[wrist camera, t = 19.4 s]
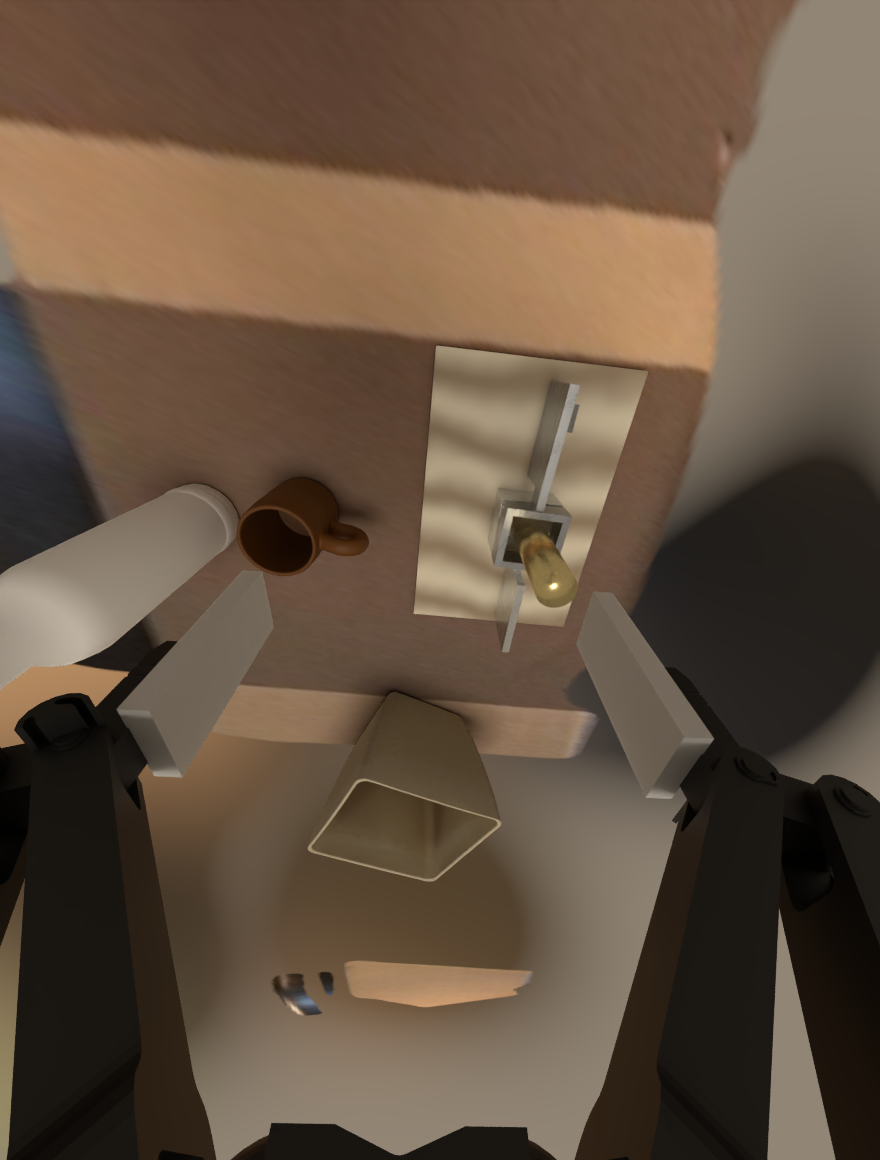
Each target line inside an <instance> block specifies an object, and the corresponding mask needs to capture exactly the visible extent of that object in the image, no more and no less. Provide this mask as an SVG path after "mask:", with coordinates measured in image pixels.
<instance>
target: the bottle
mask: <svg viewBox="0 0 880 1160" xmlns="http://www.w3.org/2000/svg"><path fill="white" fill-rule="evenodd" d="M238 523H239V517H238V514H237V511H236V509H235V508H234V506H233V505H232V503H231V502H230V500H229V499H227V498H226V497H225V496H224V495H223V494H222V493H221V492H219V491H217V490H215V489H213V488H211V487H209V486H207V485H201V484H196V483H194V484H188V485H183V486H181V487H179V488H174V489H172V490H170V491H168V492H166V493H165V494H163V495H162V496H160V497H158V498H156V499H154V500H151V501H149V502H147V503H145V504H143V505H141V506H139V507H137V508H135V509H133V510H130V511H128V512H126V513H124V514H122V515H120V516H118V517H116V518H114V519H112V520H109V521H107V522H105V523H103V524H101V525H99V526H97V527H95V528H93V529H90V530H88V531H86V532H84V533H82V534H80V535H78V536H76V537H74V538H72V539H69V540H67V541H65V542H63V543H61V544H59V545H57V546H55V547H53V548H51V549H48V550H46V551H44V552H42V553H40V554H38V555H36V556H34V557H32V558H30V559H27V560H25V561H23V562H21V563H19V564H17V565H15V566H13V567H11V568H9V569H8V570H7V571H5V572H4V573H2V574H1V575H0V690H1V689H2V688H4V687H5V686H6V685H8V684H9V683H10V682H12V681H13V680H14V679H16V678H17V677H18V676H20V675H21V674H23V673H24V672H25V671H27V670H28V669H29V668H31V667H32V666H44V667H45V666H46V667H57V666H64V665H70V664H73V663H75V662H78V661H80V660H83V659H86V658H88V657H90V656H92V655H94V654H97V653H99V652H101V651H102V650H104V649H106V648H108V647H109V646H111V645H112V644H113V643H115V642H116V641H117V640H118V639H119V638H120V637H122V636H123V635H124V634H125V633H126V632H127V631H129V630H130V629H131V628H132V627H133V626H134V625H136V624H137V623H138V622H139V621H140V620H141V619H143V618H144V617H145V616H146V615H147V614H148V613H150V612H151V611H152V610H153V609H154V608H155V607H157V606H158V605H159V604H160V603H161V602H162V601H164V600H165V599H166V598H167V597H168V596H169V595H171V594H172V593H173V592H174V591H175V590H176V589H178V588H179V587H180V586H181V585H182V584H184V583H185V582H186V581H187V580H188V579H189V578H191V577H192V576H193V575H194V574H195V573H196V572H198V571H199V570H200V569H201V568H202V567H203V566H205V565H206V564H207V563H208V562H209V561H210V560H212V559H213V558H214V557H215V556H216V555H217V554H219V553H221V552H222V551H224V550H225V549H226V548H227V547H228V546H229V545H230V543H231V542H233V541H234V539H235V538H236V536H237V526H238Z"/></svg>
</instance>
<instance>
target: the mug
mask: <svg viewBox="0 0 880 1160" xmlns="http://www.w3.org/2000/svg"><path fill="white" fill-rule="evenodd" d="M338 517H339V511H338V506H337V503H336V501H335V499H334V497H333V496H332V494H331V493H330V492H329V491H328V490H327V489H326V488H325V487H324V486H323V485H321V484H319V483H318V482H315V481H313V480H310V479H306V478H295V479H290V480H287V481H285V482H283V483H282V484H280V485H279V486H277V487H276V488H275V489H273V490H272V491H270V492H269V493H268V494H266V495H265V496H264V497H262V498H261V499H260V500H258V501H257V502H256V503H254V504H253V505H252V506H251V507H250V508H249V509H248V510H247V511H246V512H245V513H244V514H243V516H242V517H241V518H240V520H239V523H238V526H237V540H238V543H239V546H240V548H241V550H242V552H243V554H244V555H245V556H246V558H247V559H248V560H249V561H250V562H251V563H252V564H253V565H255V566H256V567H258V568H259V569H261V570H263V571H265V572H267V573H270V574H273V575H278V576H291V575H295V574H299V573H301V572H303V571H304V570H306V569H307V568H308V567H309V566H310V565H311V564H312V563H313V562H314V561H315V559H316V558H317V557H318V556H319V554H320V552H321V551H322V550H325V551H327V552H330V553H333V554H336V555H340V556H355V555H359V554H361V553H363V552H364V551H365V550H366V549H367V547H368V545H369V540H368V537H367V535H366V533H365V532H364V531H362V530H361V529H359V528H357V527H354V526H351V525H346V524H341V523H339V522H338Z"/></svg>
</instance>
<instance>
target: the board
mask: <svg viewBox="0 0 880 1160" xmlns="http://www.w3.org/2000/svg"><path fill="white" fill-rule="evenodd" d="M647 374H648V371H642V370H634V369H626V368H618V367H610V366H601V365H593V364H585V363H577V362H568V361H560V360H552V359H544V358H536V357H527V356H519V355H511V354H503V353H494V352H486V351H478V350H470V349H462V348H453V347H445V346H437V345H436V354H435V366H434V378H433V390H432V402H431V414H430V426H429V438H428V450H427V462H426V474H425V486H424V497H423V509H422V521H421V533H420V545H419V557H418V569H417V581H416V593H415V605H414V614H425V615H436V616H448V617H459V618H470V619H482V620H493V621H495V612H496V607H497V603H498V598H499V594H500V589H501V584H502V580H503V575H504V570H505V568H502V567H494V564H493V560H492V556H491V550H490V547H489V543H488V536H489V531H490V525H491V520H492V514H493V509H494V503H495V498H496V492H497V488H503V489H513V490H522V491H532V492H534V489H535V486H534V484H533V483H532V481H531V480H530V479H529V477H528V476H527V474H528V470H529V466H530V463H531V459H532V455H533V451H534V447H535V443H536V439H537V435H538V431H539V427H540V423H541V419H542V415H543V411H544V407H545V403H546V399H547V395H548V391H549V387H550V383H551V381H557V382H563V383H569V384H575V385H580V388H579V391H578V395H577V398H576V402H575V404H578V405H579V409H578V413H577V417H576V421H575V424H574V428H573V432H572V433H569V432H567V433H566V436H565V440H564V443H563V447H562V450H561V454H560V457H559V461H558V464H557V468H556V471H555V475H554V478H553V482H552V485H551V488H550V492H549V493H551V494H554V495H555V496H556V498H557V499H558V500H559V501H560V502H561V504H562V505H563V508H565V509H566V510H567V511H568V512H569V513H570V515H571V516H572V520H571V523H570V526H569V529H568V532H567V535H566V538H565V541H564V544H563V547H562V550H561V553H560V554H561V556H562V558H563V559H564V561H565V562H566V564H567V566H568V567H569V569H570V571H571V572H572V574H573V575H574V577H575V579H576V580H577V583H578V581H579V578H580V575H581V572H582V569H583V566H584V563H585V560H586V557H587V554H588V551H589V548H590V545H591V542H592V539H593V536H594V533H595V530H596V527H597V524H598V521H599V518H600V515H601V512H602V509H603V506H604V503H605V500H606V497H607V494H608V491H609V488H610V485H611V482H612V479H613V476H614V473H615V470H616V467H617V464H618V461H619V458H620V455H621V452H622V449H623V446H624V443H625V440H626V437H627V434H628V431H629V428H630V425H631V422H632V419H633V416H634V413H635V410H636V407H637V404H638V401H639V398H640V395H641V392H642V389H643V386H644V383H645V380H646V377H647ZM509 537H513V536H512V534H511V531H510V532H509ZM520 572H521V575H522V578H523V580H524V583H525V590H524V594H523V598H522V602H521V606H520V610H519V614H518V618H517V621H516V623H527V624H538V625H550V626H561V627H563V626H564V623H565V620H566V617H567V614H568V611H569V608H570V605H571V602H572V601H571V602H570V603H568V604H567V605H565V606H562V607H558V608H550V607H546V606H544V605H542V604H541V603H540V602H539V601H538V600H537V598H536V595H535V593H534V590H533V587H532V585H531V582H530V580H529V577H528V575H527V572H526V570H521V571H520Z"/></svg>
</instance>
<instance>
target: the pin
mask: <svg viewBox="0 0 880 1160" xmlns="http://www.w3.org/2000/svg"><path fill="white" fill-rule="evenodd" d="M510 531H511V534H512V536H513V539H514V541H515V544H516V546H517V549H518V552H519V554H520V557H521V559H522V562H523V564H524V567H525V569H526V572H527V575H528V577H529V580H530V582H531V585H532V587H533V590H534V593H535V595H536V598H537V600H538V601H539V602H540V603H541V604H542V605H544V606H546V607H550V608H558V607H562V606H565V605H567V604H568V603H570V602H571V601H572V600H573V599H574V598H575V596H576V594H577V592H578V583H577V580H576V579H575V577H574V575H573V574H572V572H571V571H570V569H569V567H568V566H567V564H566V562H565V561H564V559H563V558H562V556H561V554H560V553H559V551H558V549H557V548H556V546H555V544H554V543H553V541H552V540H551V538H550V536H549V535H548V533H547V531H546V530H545V528H544V526H543V525H542V523H541V522H540V520H538V519H530V518H523V517H516V516H513V520H512V524H511V528H510Z"/></svg>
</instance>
